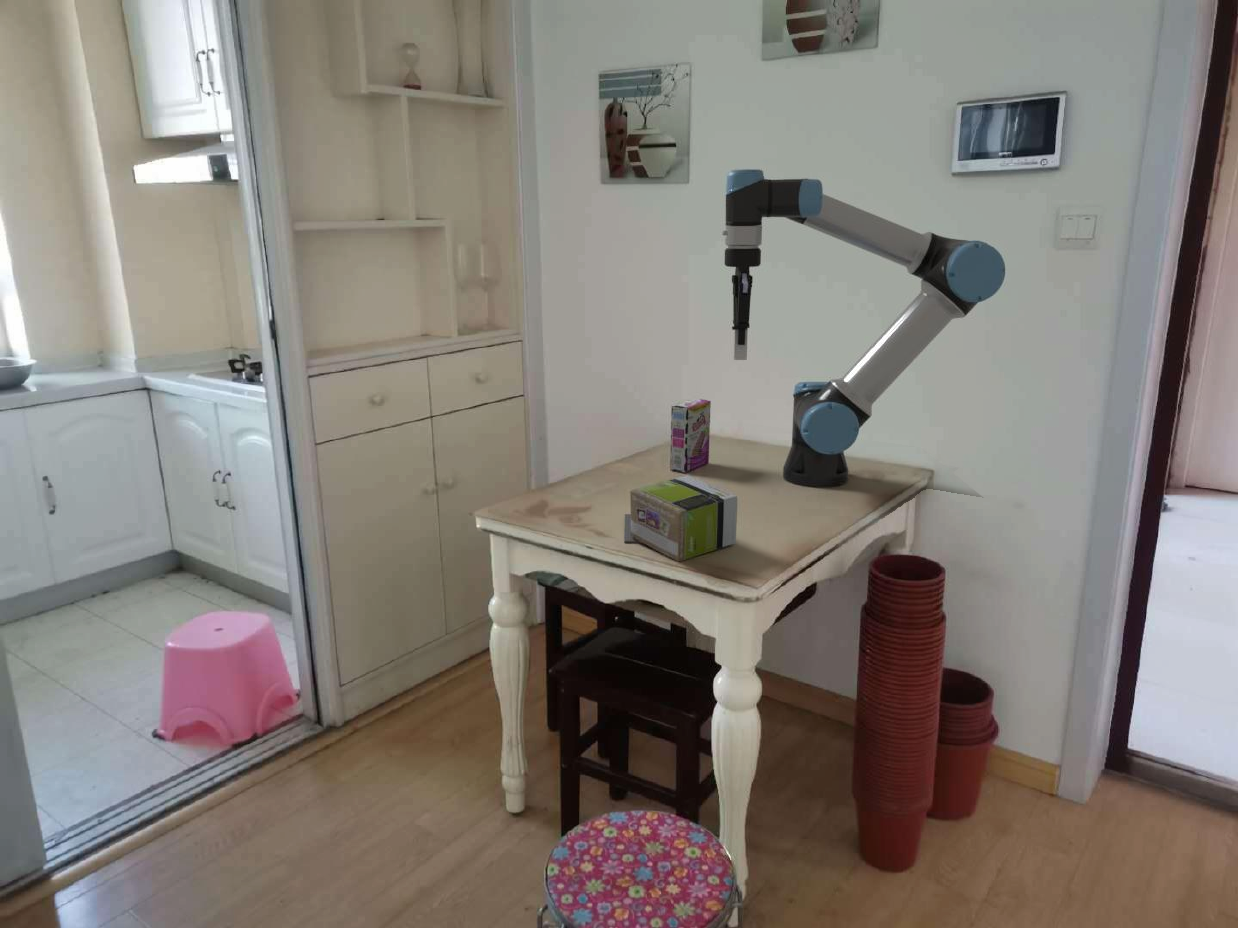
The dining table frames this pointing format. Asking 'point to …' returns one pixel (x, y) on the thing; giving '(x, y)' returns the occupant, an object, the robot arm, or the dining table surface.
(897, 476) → the dining table surface
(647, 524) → the tea box
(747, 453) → the dining table surface
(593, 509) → the dining table surface
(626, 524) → the mat
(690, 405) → the candy bar box
